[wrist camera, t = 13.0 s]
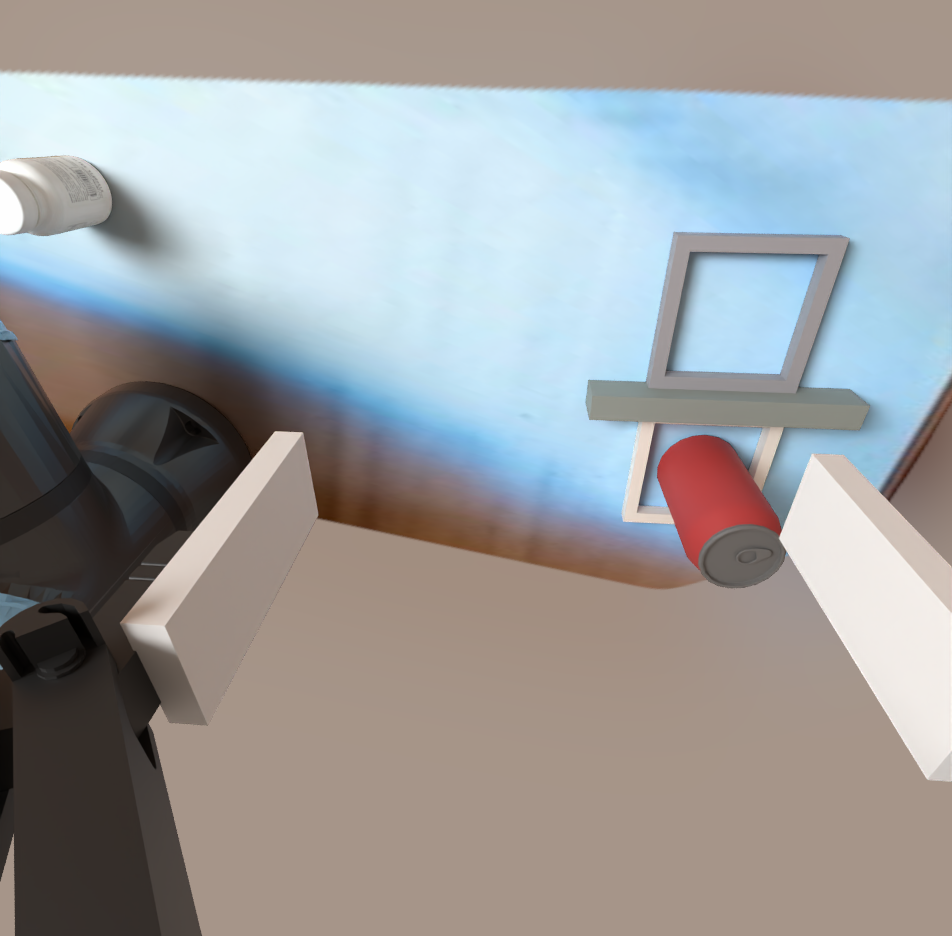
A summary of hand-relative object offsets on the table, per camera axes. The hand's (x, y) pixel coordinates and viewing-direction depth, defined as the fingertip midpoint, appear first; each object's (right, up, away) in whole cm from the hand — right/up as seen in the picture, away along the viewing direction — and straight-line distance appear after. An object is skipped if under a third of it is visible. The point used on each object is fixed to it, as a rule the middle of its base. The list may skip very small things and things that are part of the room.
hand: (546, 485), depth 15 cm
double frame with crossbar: (+17, +6, +29) cm, 34 cm away
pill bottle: (-30, +20, +24) cm, 43 cm away
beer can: (+17, +1, +32) cm, 36 cm away
